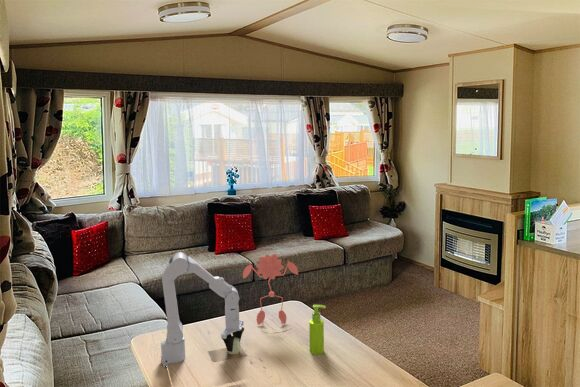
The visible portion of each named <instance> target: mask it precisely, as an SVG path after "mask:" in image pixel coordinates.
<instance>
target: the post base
mask: <svg viewBox="0 0 580 387" xmlns="http://www.w3.org/2000/svg"><path fill="white" fill-rule="evenodd" d="M207 353H208V355H209V358H210V359H211V361H212V363H217V362H222V361H227V360H233V359H238V358H242V357H247V354H246V352H245V350H244V349H243V346H242V345H241V344H240V352H239V353H237V354H229V353H228V352H227V348H226V347H224V348H219V349H218V348H217V349H213V350H207Z"/></svg>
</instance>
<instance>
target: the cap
mask: <svg viewBox="0 0 580 387" xmlns="http://www.w3.org/2000/svg"><path fill="white" fill-rule="evenodd" d="M240 345H241V340H240V339H239V338H238V337H235V338H234V341H233V350H232V352H230V351H227V352H228V353H229V354H237V353H239V352H240Z"/></svg>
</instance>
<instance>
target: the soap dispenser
mask: <svg viewBox="0 0 580 387" xmlns="http://www.w3.org/2000/svg"><path fill="white" fill-rule="evenodd" d="M326 307H327V306H326V305H323V304H312V308H313V312H312V313H311V319H310V320H309V323H308V324H309V327H308V329H309V330H308V331H309V353H310V354H312V355H322V354H323V353H324V352H325V346H324V344H325V343H324V342H325V340H324V339H325V334H324V330H325V329H324V325H325V324H324V321H325V320H323V319H322V318H321V312H319V309H323V310H325V309H326Z"/></svg>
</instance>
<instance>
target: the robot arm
mask: <svg viewBox="0 0 580 387" xmlns="http://www.w3.org/2000/svg"><path fill="white" fill-rule="evenodd" d="M184 273H186V274H193V273H194V274H195V275H196V276H197V277H199V278H200V279H202V280H203V281H204V282H206V283H208V287H209V289H210V290H211V291H213V292H214V293H215V294H217V295H218V296H219V297H221V298H224V304H225V305H224V318H225V319H224V320H225V322H224V323H225V327H224V329H223V331H222V332H221V335H220V337H221V340H222V341H223V342H224V344H225V348H227V351H230V352H232V350H233V341H234V338H235V337H238V338H239V339H240V341H242V335H243V333H244V331H245V328H244V327H243V326H244V320H243V319H240V306H239V301H240V295H239V292H238V289H237V288H236V287H235V286H233V285H232V284H229V283H228V282H227V281H225V279H224V277H222V276H219V275H218V276H213V274H211V273H210V272H209V271H207V270H206V269H205V267H203V266H201V265H200V263H199V262H197V261H196V260H195V259H193V258H192V257H190V256H189V255H188V256H187V254H186V253H185V252H181V251H177V252H176V253H174V254H173V255H172V256H171V257H170V258H169V259H168V262H167V264H166V265H165V268H164V270H163V272H162V273H161V283H162V289H163V290H162V291H163V297H164V298H163V299H164V305H165V313H166V320H167V326H166V338H165V340H164V341H160V352H161V356H160V357H161V358H160V359H161V362H162V366H163V367H164V368H166V367H165V366H167V365H168V364H177V363H180V362H183V361H185V360H186V345H185V344H186V343H185V336H184V333H183V328H184V326H183V323H182V322H181V320H180V315H179V308H178V300H177V291H176V285H175V280H176V279H177V278H178V277H179V276H181V275H182V274H184Z"/></svg>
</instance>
